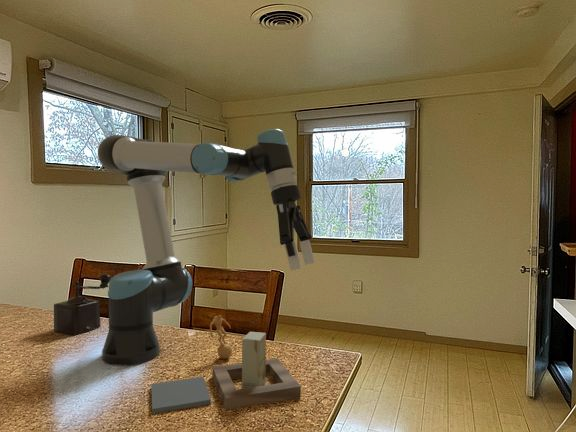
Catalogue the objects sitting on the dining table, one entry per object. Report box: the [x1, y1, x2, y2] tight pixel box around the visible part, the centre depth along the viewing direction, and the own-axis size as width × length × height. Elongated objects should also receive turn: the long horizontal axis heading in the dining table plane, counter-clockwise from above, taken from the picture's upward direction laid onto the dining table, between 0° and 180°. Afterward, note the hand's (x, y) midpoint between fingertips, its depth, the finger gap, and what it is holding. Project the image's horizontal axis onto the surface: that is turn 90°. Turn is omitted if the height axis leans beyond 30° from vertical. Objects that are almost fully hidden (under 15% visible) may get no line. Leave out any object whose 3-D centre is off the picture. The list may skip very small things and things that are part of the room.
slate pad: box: [150, 376, 212, 415], centre depth 90 cm, size 12×12×1 cm
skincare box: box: [241, 331, 267, 389], centre depth 94 cm, size 6×4×12 cm
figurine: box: [209, 314, 233, 360], centre depth 112 cm, size 8×6×12 cm
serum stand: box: [211, 357, 302, 411], centre depth 94 cm, size 17×17×2 cm
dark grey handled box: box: [53, 273, 112, 337], centre depth 137 cm, size 16×11×18 cm
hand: (303, 266), depth 103 cm, fingers open, 13 cm apart
